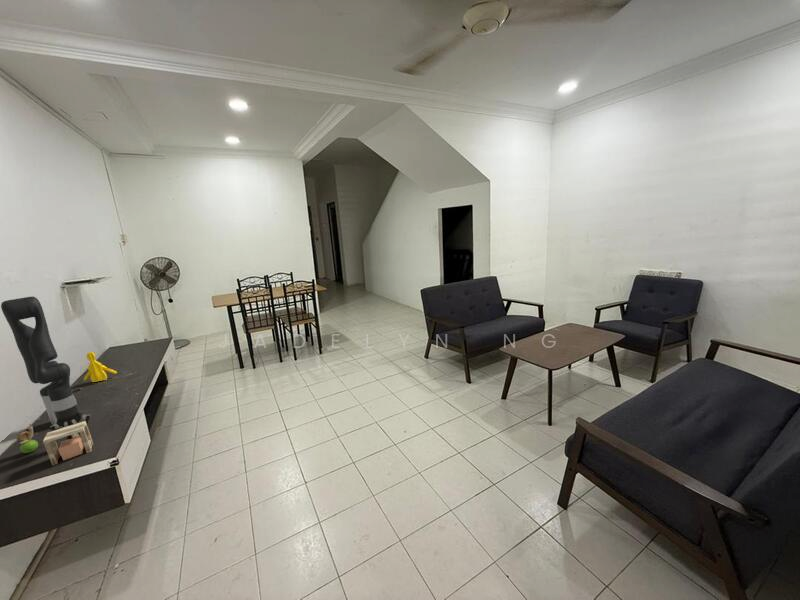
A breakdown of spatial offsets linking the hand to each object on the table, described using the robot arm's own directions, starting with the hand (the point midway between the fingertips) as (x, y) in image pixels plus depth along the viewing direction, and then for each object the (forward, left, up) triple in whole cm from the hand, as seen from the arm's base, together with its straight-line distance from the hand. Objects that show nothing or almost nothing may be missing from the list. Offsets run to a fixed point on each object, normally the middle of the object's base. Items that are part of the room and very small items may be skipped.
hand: (77, 438), depth 147 cm
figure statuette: (-85, +1, -2) cm, 85 cm away
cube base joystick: (+6, 0, -2) cm, 7 cm away
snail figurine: (-7, -16, -2) cm, 18 cm away
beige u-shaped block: (+11, 0, -2) cm, 12 cm away
